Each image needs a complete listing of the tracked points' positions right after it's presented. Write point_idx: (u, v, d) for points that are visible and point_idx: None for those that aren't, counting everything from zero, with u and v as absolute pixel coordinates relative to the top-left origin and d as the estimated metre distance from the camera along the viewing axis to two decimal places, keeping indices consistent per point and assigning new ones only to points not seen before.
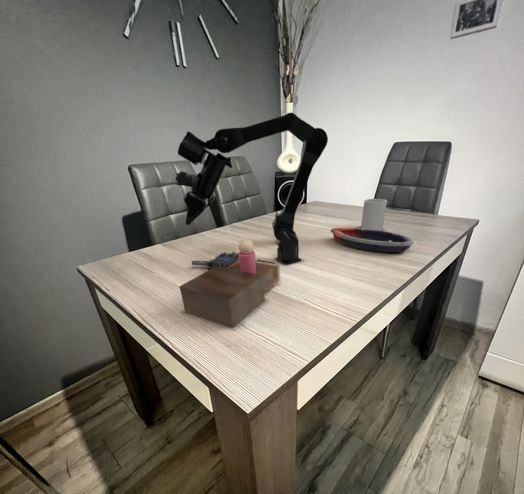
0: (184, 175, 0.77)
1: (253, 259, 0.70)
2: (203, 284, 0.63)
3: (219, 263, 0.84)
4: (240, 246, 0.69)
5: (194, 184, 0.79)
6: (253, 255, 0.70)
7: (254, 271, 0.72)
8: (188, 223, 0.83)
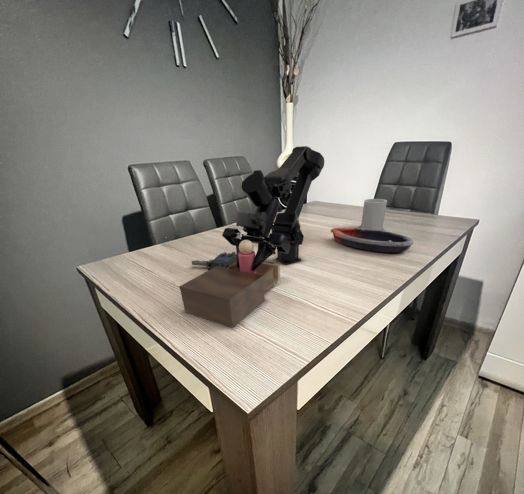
0: (265, 216, 0.67)
1: (253, 259, 0.70)
2: (203, 284, 0.63)
3: (219, 263, 0.84)
4: (240, 246, 0.69)
5: (264, 226, 0.70)
6: (253, 255, 0.70)
7: (254, 271, 0.72)
8: (254, 269, 0.71)
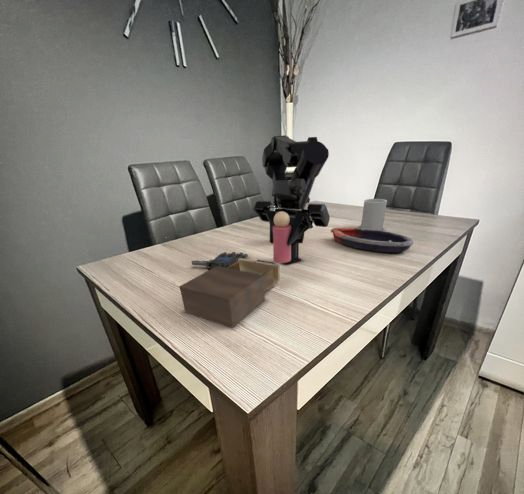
0: (304, 184, 0.61)
1: (289, 233, 0.65)
2: (203, 284, 0.63)
3: (219, 263, 0.84)
4: (276, 218, 0.63)
5: (301, 197, 0.64)
6: (289, 228, 0.64)
7: (289, 246, 0.66)
8: (290, 244, 0.65)
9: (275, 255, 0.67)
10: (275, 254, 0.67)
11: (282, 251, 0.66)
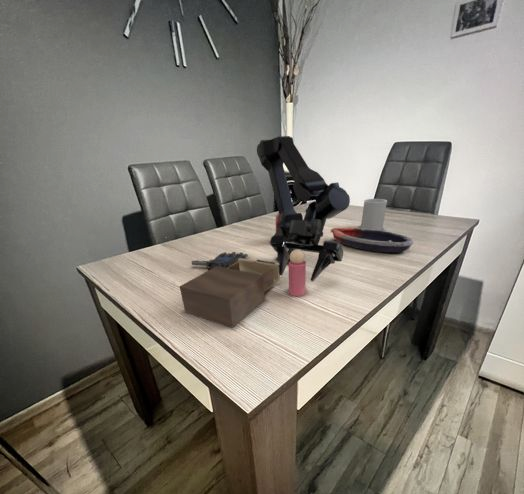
0: (320, 223, 0.64)
1: (304, 269, 0.68)
2: (203, 284, 0.63)
3: (219, 263, 0.84)
4: (292, 256, 0.67)
5: (316, 234, 0.68)
6: (305, 265, 0.68)
7: (304, 281, 0.70)
8: (313, 279, 0.67)
9: (290, 289, 0.71)
10: (290, 288, 0.71)
11: (297, 286, 0.69)
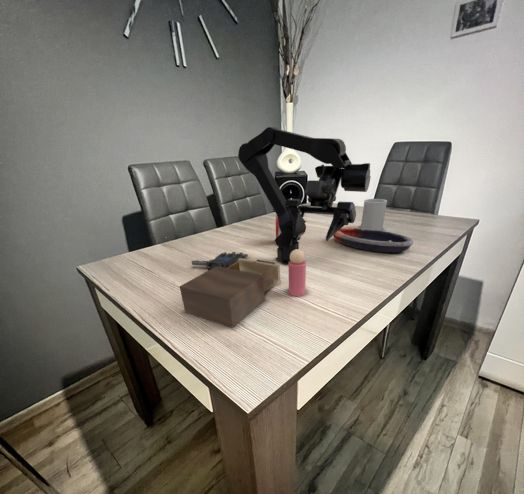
0: (335, 184, 0.67)
1: (304, 269, 0.68)
2: (203, 284, 0.63)
3: (219, 263, 0.84)
4: (292, 256, 0.67)
5: (330, 195, 0.70)
6: (305, 265, 0.68)
7: (304, 281, 0.70)
8: (328, 239, 0.70)
9: (290, 289, 0.71)
10: (290, 288, 0.71)
11: (297, 286, 0.69)
